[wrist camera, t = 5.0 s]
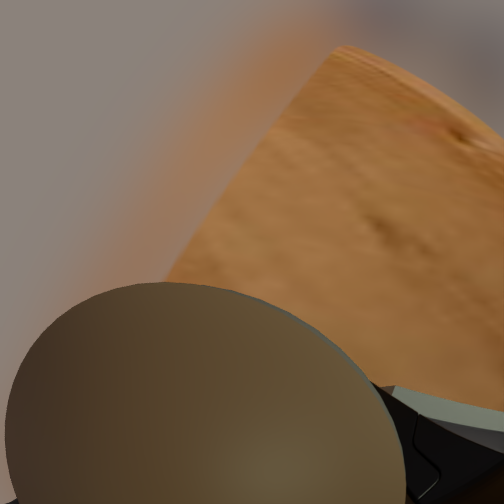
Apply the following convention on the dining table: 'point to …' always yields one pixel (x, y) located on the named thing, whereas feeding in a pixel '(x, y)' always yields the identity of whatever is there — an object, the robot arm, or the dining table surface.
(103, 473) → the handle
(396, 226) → the dining table surface
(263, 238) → the dining table surface
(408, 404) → the box
